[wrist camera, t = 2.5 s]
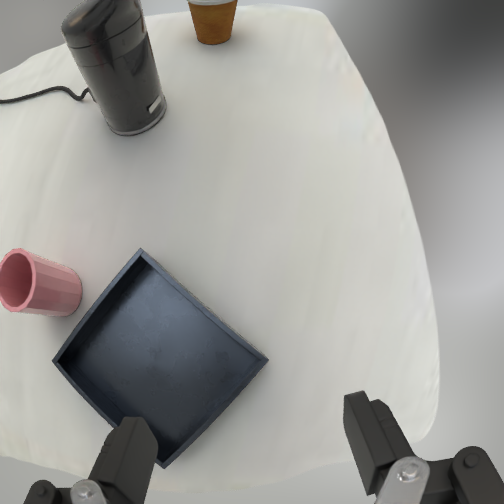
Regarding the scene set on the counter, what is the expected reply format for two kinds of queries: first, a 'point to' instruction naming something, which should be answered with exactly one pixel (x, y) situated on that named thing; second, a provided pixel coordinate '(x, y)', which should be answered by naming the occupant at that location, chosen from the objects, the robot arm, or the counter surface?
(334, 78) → the counter surface
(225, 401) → the dark grey storage tray
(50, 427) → the counter surface
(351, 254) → the counter surface
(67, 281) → the cup
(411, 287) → the counter surface
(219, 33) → the disposable coffee cup
